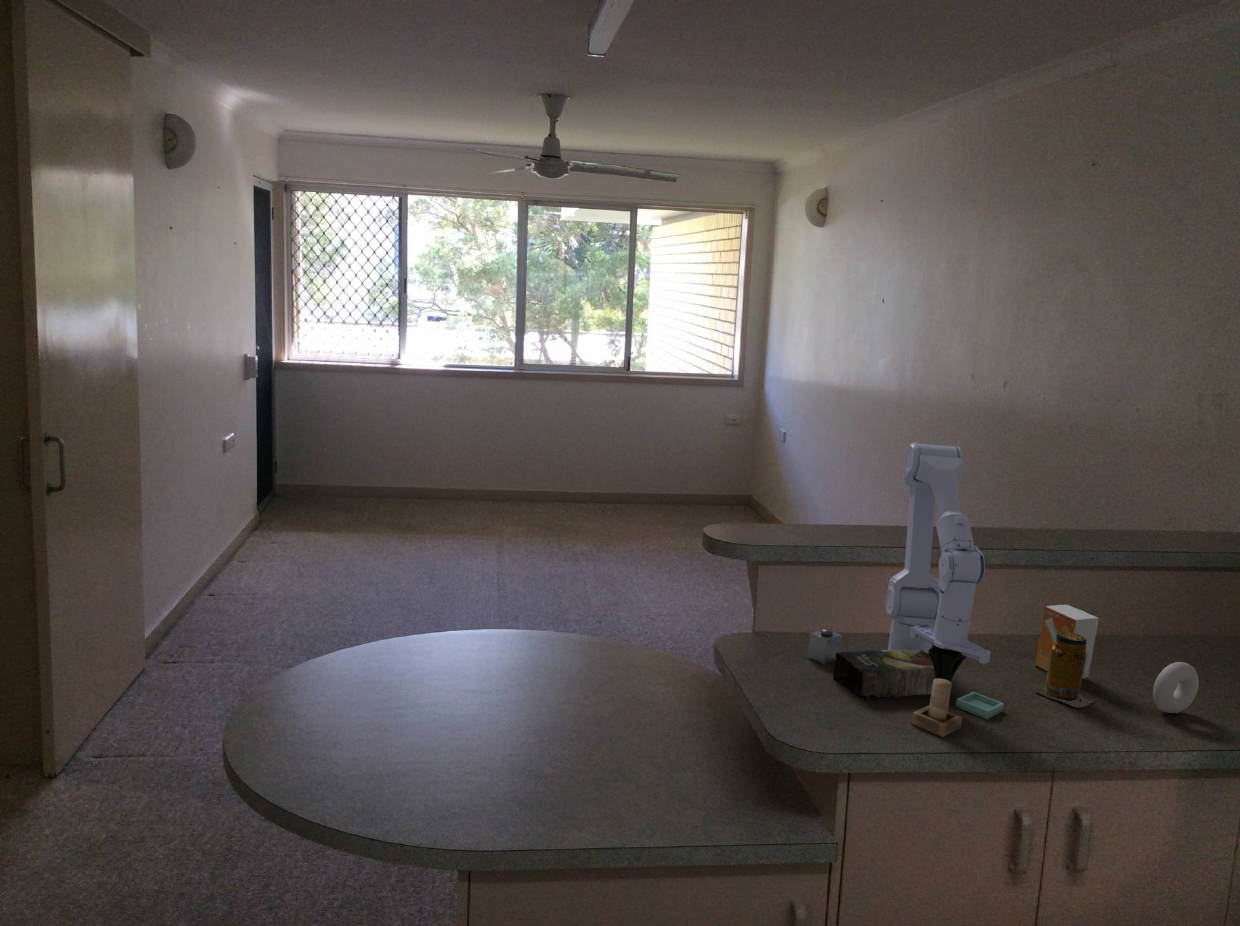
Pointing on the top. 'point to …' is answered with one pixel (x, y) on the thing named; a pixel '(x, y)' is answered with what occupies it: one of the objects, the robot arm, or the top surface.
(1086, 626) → the small box
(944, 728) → the socket
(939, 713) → the dowel
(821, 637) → the stop block
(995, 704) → the tray
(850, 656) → the juice carton
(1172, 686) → the grey round disc
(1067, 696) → the condiment
